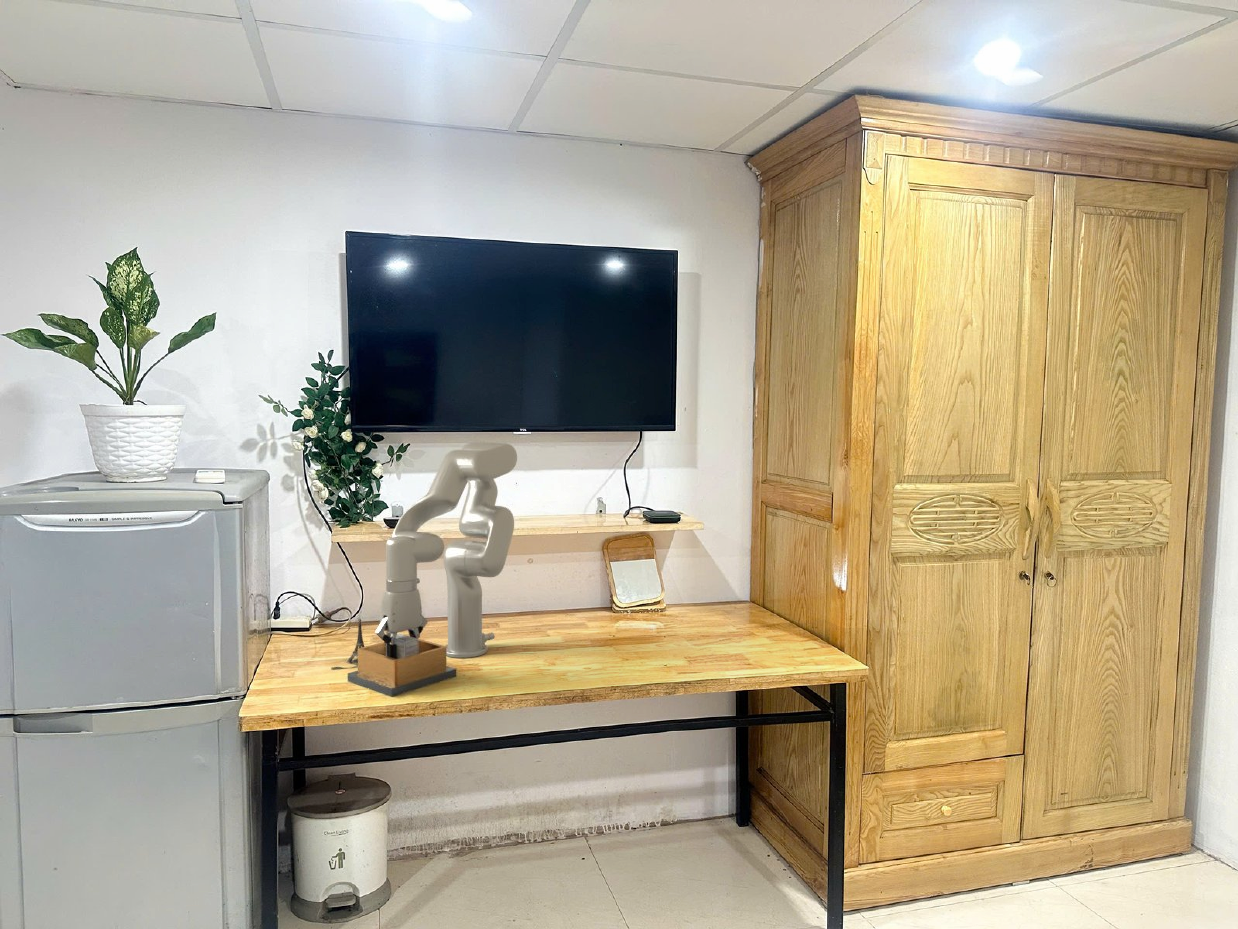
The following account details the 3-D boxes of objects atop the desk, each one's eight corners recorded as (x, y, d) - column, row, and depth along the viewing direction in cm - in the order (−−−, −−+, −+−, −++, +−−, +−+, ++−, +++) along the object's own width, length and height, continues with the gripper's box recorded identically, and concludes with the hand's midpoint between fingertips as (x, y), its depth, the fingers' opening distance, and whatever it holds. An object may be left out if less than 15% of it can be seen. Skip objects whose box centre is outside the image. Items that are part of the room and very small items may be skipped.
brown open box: (412, 662, 232) (411, 633, 231) (456, 676, 220) (456, 645, 220) (347, 681, 216) (347, 650, 215) (391, 696, 205) (391, 664, 204)
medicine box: (419, 672, 217) (419, 638, 216) (404, 676, 214) (404, 642, 213) (400, 666, 222) (400, 633, 221) (385, 670, 219) (385, 636, 218)
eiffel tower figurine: (330, 672, 225) (329, 622, 224) (330, 661, 234) (329, 612, 233) (389, 667, 229) (388, 618, 228) (387, 656, 239) (386, 609, 238)
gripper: (419, 578, 225) (420, 646, 227) (363, 589, 212) (364, 661, 213) (438, 582, 221) (438, 651, 222) (382, 593, 207) (382, 667, 209)
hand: (402, 655), depth 218 cm, fingers open, 5 cm apart
